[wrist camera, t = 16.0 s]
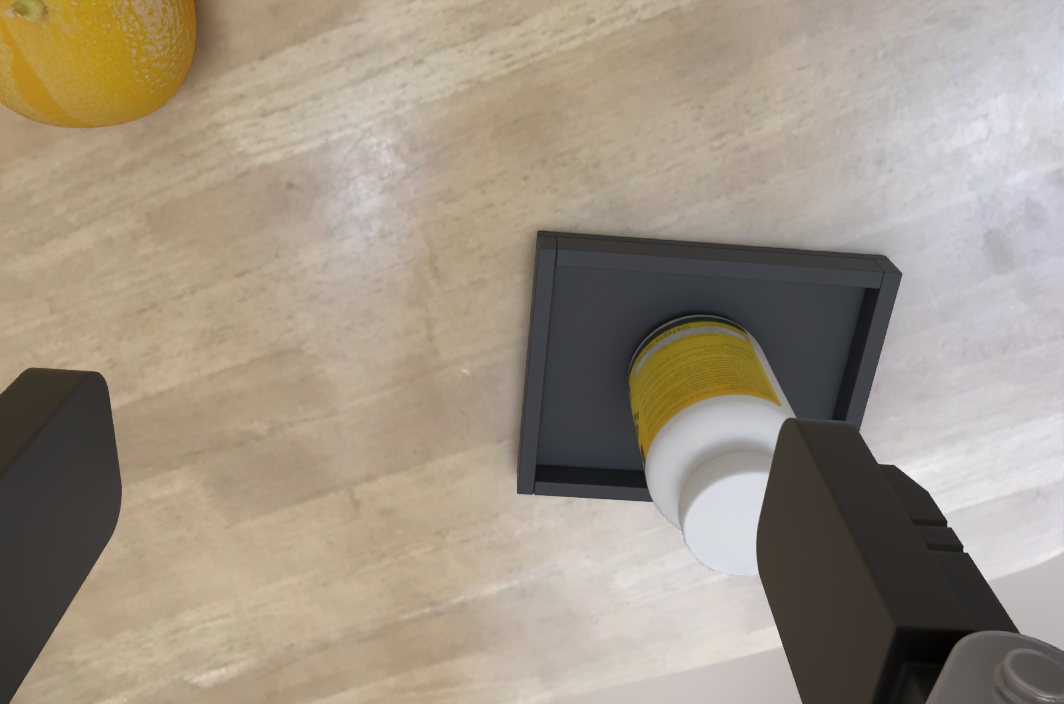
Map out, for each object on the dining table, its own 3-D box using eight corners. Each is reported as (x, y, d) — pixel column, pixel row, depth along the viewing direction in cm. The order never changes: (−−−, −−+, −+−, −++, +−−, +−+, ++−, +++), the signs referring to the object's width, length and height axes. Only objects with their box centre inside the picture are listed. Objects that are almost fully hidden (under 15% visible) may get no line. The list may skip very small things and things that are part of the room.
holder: (886, 255, 43) (903, 273, 41) (824, 488, 48) (837, 513, 46) (537, 230, 42) (538, 247, 40) (517, 470, 48) (516, 494, 46)
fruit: (-40, -89, 36) (-180, -78, 29) (147, -175, 35) (49, -187, 28) (89, 129, 40) (-6, 187, 33) (262, 59, 38) (202, 102, 31)
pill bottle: (605, 339, 44) (630, 486, 33) (741, 288, 43) (811, 423, 32) (653, 449, 46) (690, 617, 36) (781, 404, 45) (857, 563, 35)
